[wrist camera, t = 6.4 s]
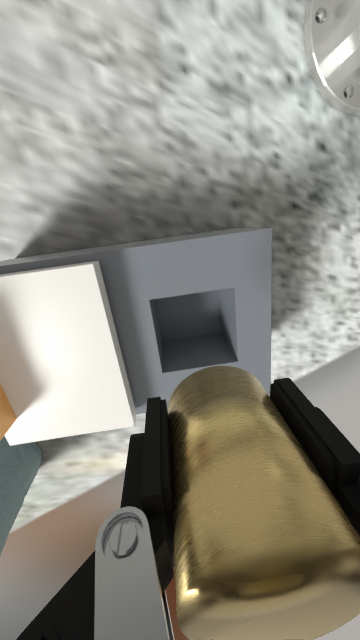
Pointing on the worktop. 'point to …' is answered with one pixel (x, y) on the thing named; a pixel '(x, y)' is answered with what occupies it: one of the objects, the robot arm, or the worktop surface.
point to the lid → (60, 356)
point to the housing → (182, 304)
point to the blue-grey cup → (15, 480)
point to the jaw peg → (253, 519)
